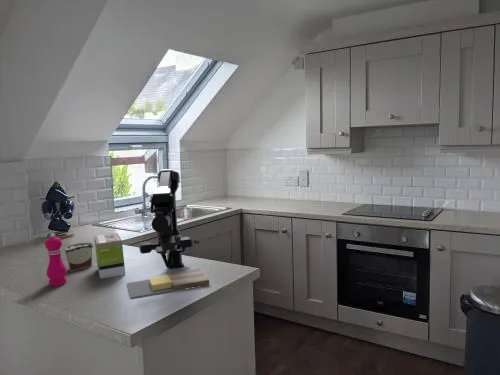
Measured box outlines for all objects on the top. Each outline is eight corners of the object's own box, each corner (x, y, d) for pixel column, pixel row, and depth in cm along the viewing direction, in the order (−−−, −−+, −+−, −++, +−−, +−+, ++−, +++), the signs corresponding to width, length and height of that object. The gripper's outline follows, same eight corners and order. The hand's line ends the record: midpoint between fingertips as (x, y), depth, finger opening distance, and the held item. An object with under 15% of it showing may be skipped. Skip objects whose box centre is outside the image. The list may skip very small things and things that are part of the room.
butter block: (149, 282, 163) (148, 277, 163) (167, 279, 166) (167, 274, 166) (152, 290, 155) (152, 285, 155) (172, 287, 157) (171, 281, 157)
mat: (127, 284, 164) (126, 283, 164) (166, 278, 169) (166, 276, 169) (130, 298, 149) (130, 297, 149) (174, 291, 154) (174, 290, 154)
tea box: (97, 269, 186) (93, 235, 184) (121, 265, 190) (118, 232, 188) (99, 279, 172) (96, 242, 170) (125, 274, 176) (122, 239, 174)
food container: (89, 262, 196) (86, 240, 195) (95, 265, 192) (93, 242, 191) (61, 269, 188) (59, 247, 186) (67, 272, 183) (64, 249, 182)
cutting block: (167, 278, 169) (166, 273, 169) (199, 273, 173) (199, 268, 173) (173, 291, 155) (173, 285, 155) (209, 285, 159) (209, 279, 159)
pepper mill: (70, 279, 173) (65, 230, 171) (63, 286, 166) (58, 234, 164) (52, 280, 173) (46, 231, 171) (44, 287, 166) (38, 236, 163)
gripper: (140, 233, 148) (144, 278, 150) (194, 227, 154) (197, 269, 156) (137, 227, 159) (141, 269, 161) (187, 221, 165) (190, 261, 167)
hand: (167, 267), depth 161 cm, fingers closed
